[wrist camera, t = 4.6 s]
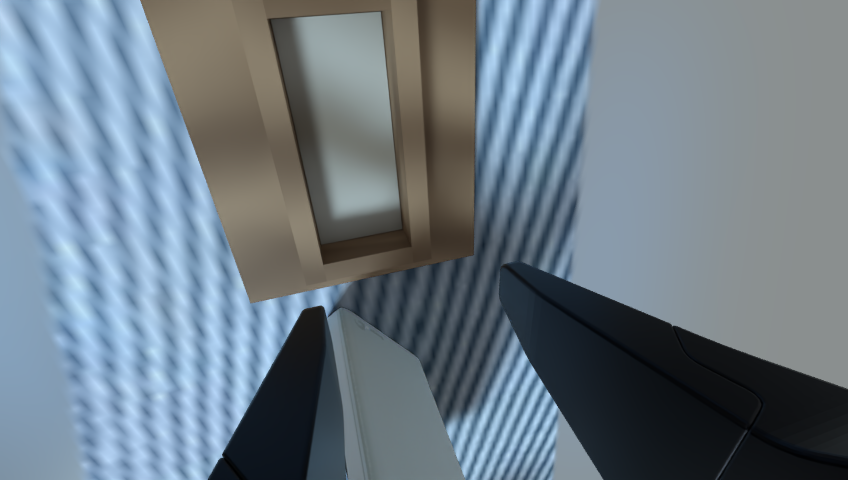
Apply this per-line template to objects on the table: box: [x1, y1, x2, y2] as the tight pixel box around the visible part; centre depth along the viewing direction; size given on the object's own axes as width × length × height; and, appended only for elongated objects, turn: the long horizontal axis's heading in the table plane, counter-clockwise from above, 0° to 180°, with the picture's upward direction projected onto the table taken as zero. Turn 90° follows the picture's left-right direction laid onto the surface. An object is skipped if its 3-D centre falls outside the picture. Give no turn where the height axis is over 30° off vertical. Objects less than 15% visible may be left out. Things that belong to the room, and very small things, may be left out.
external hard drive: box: [327, 308, 465, 480], centre depth 22 cm, size 2×8×12 cm, turn 39°
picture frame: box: [140, 0, 476, 303], centre depth 18 cm, size 16×13×3 cm
